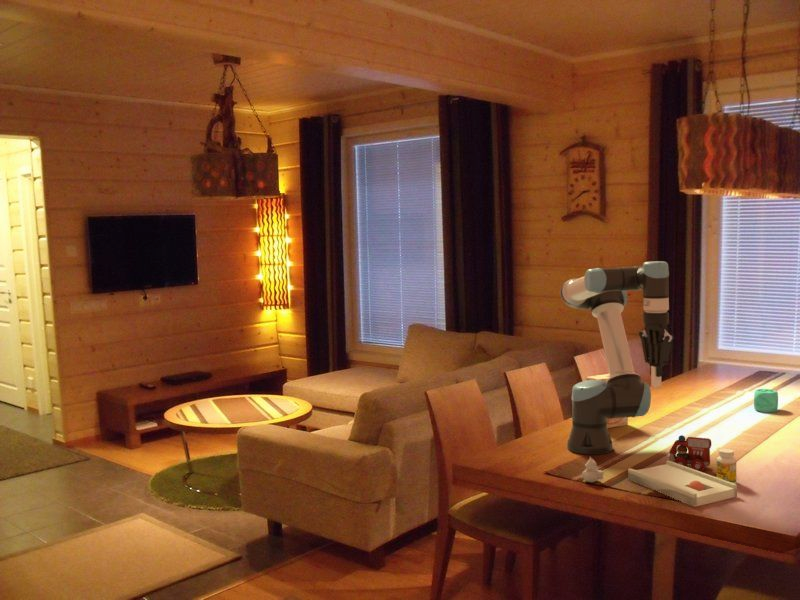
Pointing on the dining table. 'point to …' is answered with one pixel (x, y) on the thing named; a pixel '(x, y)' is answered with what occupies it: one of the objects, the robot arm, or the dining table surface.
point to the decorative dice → (766, 400)
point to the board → (683, 483)
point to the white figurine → (592, 472)
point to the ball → (696, 485)
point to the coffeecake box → (610, 421)
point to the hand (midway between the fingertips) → (656, 386)
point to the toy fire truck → (691, 452)
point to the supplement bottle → (726, 465)
